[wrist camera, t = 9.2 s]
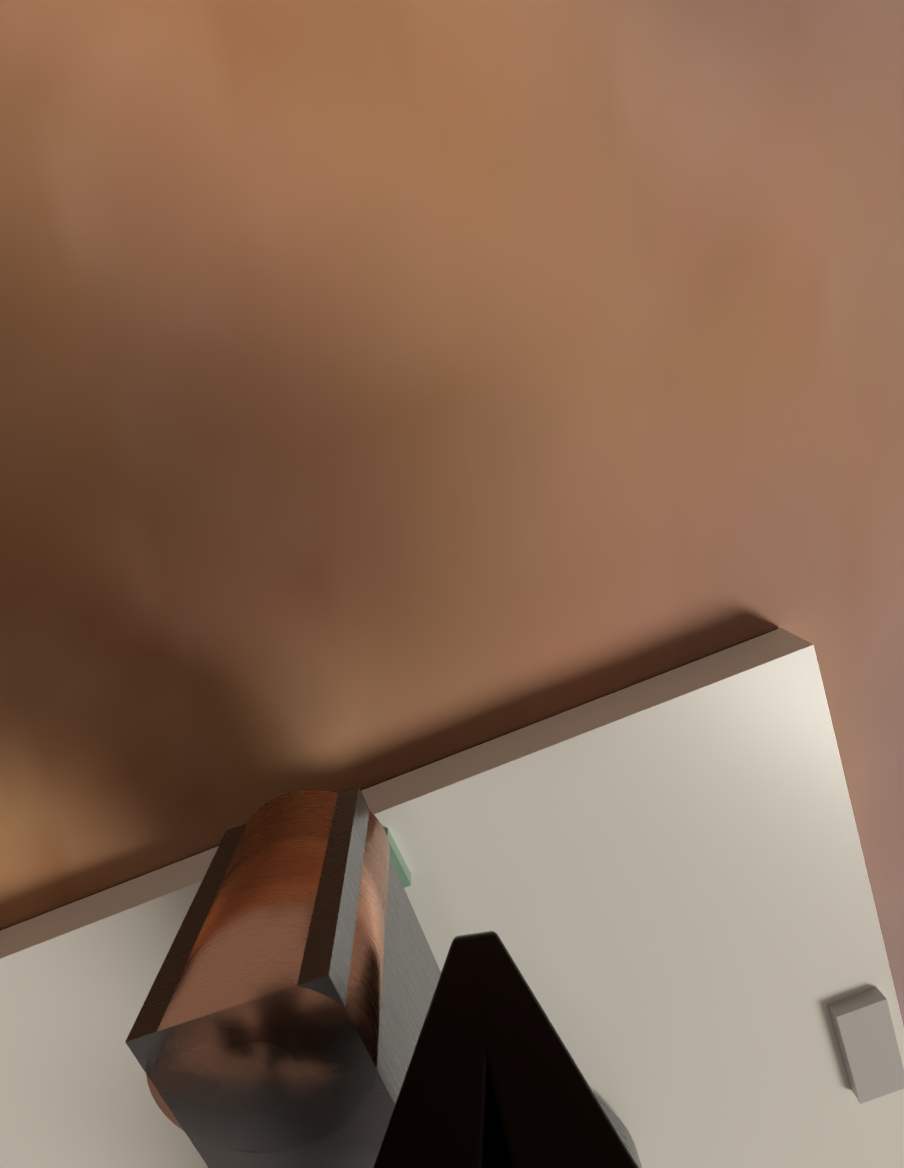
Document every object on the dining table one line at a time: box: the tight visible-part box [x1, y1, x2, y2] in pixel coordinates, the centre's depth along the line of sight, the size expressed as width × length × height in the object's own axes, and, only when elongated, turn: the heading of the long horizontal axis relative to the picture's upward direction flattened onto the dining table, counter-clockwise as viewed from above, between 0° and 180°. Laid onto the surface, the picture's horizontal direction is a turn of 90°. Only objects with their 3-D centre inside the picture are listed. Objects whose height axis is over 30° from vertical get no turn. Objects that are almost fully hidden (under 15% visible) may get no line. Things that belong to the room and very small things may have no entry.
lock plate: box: [0, 628, 904, 1168], centre depth 14 cm, size 21×21×1 cm
